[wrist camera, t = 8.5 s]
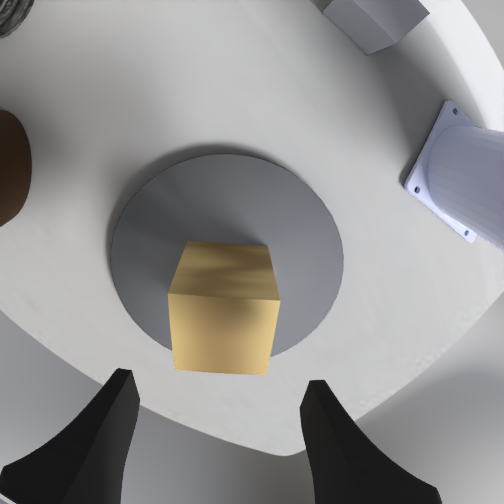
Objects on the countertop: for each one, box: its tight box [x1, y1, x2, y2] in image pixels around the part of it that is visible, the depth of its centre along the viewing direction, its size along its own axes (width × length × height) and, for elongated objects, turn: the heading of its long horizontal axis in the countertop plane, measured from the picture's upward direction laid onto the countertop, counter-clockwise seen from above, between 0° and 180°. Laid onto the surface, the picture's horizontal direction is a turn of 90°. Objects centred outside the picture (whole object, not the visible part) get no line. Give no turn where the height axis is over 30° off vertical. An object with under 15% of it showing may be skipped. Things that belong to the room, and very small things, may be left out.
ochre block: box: [168, 241, 280, 375], centre depth 16 cm, size 5×5×6 cm
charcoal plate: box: [111, 154, 344, 357], centre depth 20 cm, size 16×16×1 cm
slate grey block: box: [322, 0, 430, 55], centre depth 11 cm, size 4×4×4 cm
